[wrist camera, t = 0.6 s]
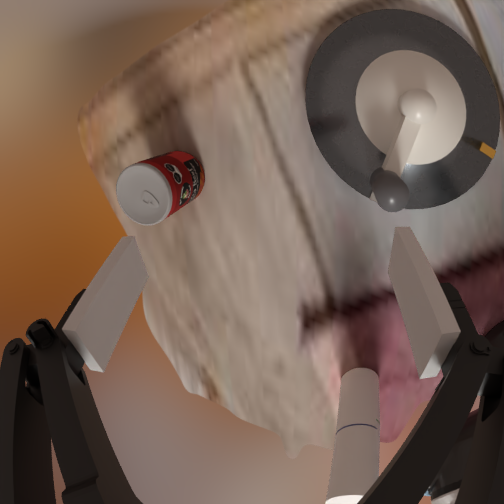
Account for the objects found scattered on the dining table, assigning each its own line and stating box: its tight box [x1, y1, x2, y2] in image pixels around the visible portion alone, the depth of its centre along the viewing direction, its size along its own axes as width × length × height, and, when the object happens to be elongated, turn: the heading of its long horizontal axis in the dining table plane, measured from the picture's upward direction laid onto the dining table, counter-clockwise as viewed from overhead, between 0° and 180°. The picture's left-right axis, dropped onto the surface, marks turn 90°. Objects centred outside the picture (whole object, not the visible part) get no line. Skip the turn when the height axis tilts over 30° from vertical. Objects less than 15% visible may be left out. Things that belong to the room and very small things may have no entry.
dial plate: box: [306, 9, 500, 209], centre depth 32 cm, size 26×26×2 cm
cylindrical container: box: [326, 368, 380, 504], centre depth 42 cm, size 7×7×25 cm
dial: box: [355, 50, 466, 212], centre depth 29 cm, size 19×14×8 cm
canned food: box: [116, 151, 205, 225], centre depth 41 cm, size 8×8×11 cm
